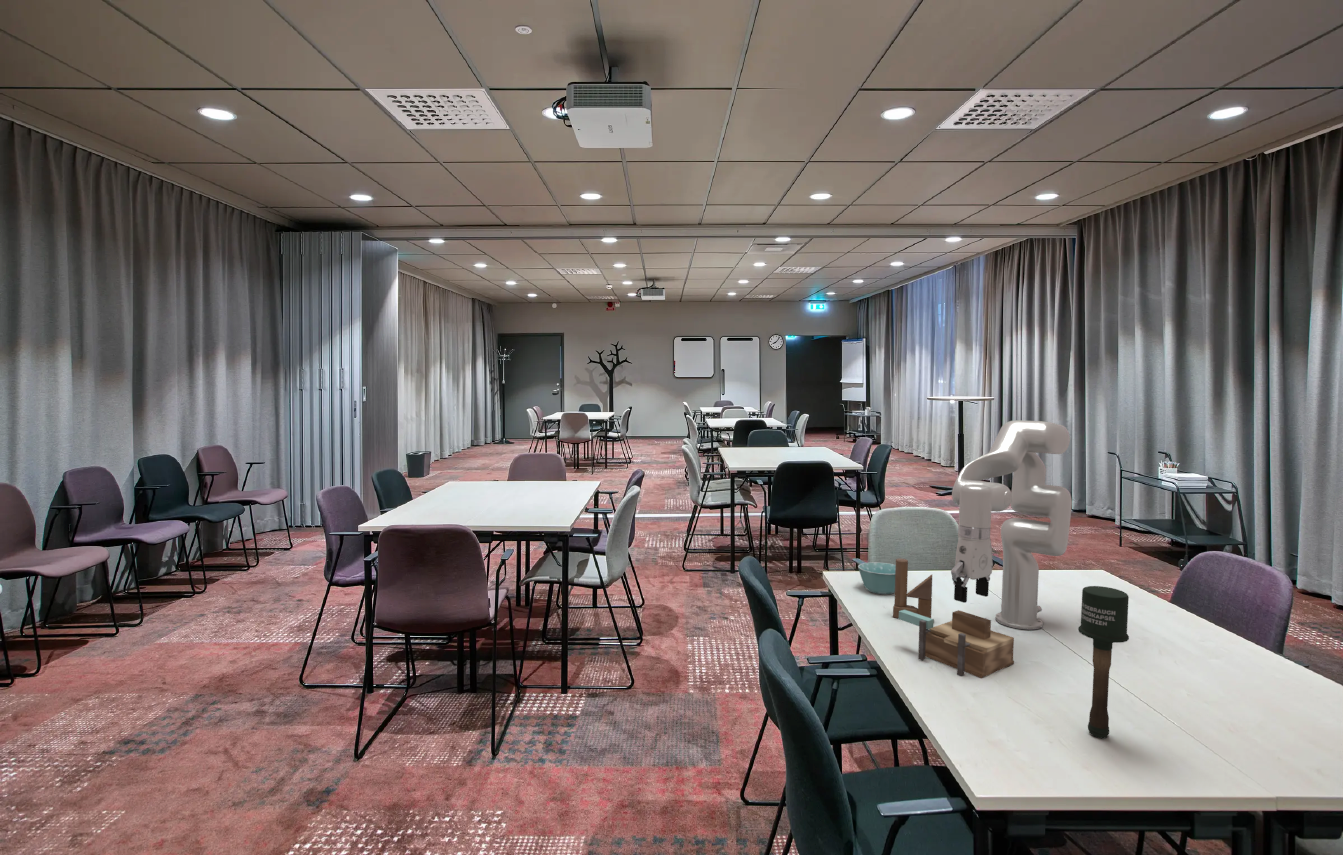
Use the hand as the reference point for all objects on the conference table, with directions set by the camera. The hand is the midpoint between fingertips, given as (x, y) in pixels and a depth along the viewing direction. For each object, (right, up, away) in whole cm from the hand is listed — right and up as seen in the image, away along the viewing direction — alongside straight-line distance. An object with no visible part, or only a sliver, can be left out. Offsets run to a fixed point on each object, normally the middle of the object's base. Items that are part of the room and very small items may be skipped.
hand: (971, 598), depth 172 cm
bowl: (-5, -13, +59) cm, 60 cm away
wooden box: (-1, -16, 0) cm, 16 cm away
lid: (-1, -12, 0) cm, 12 cm away
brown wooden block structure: (-4, -15, +31) cm, 35 cm away
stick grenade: (+10, -19, -36) cm, 42 cm away
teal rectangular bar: (-12, -8, +6) cm, 16 cm away
